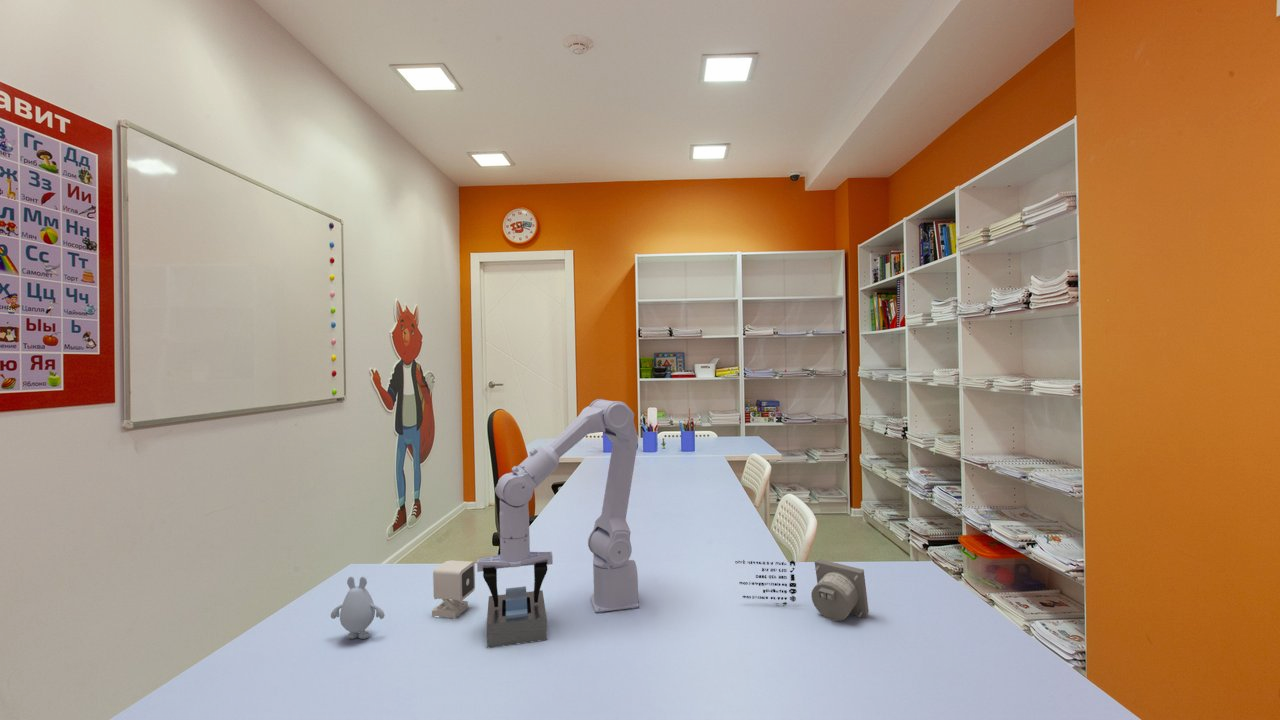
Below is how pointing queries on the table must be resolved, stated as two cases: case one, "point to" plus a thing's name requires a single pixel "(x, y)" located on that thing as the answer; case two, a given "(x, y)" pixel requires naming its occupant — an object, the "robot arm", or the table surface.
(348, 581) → the toy figure
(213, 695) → the table surface
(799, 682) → the table surface
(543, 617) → the frame
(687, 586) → the table surface
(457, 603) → the security camera
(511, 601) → the block
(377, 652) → the table surface
